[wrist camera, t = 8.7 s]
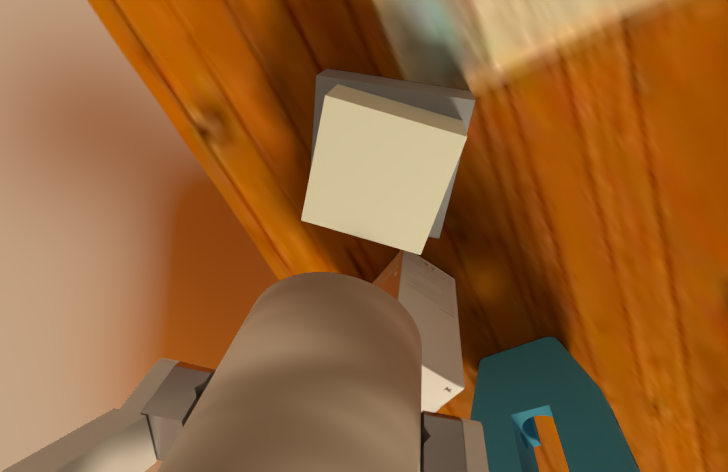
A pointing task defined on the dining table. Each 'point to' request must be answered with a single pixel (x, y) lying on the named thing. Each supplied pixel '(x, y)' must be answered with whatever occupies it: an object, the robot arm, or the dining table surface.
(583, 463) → the block
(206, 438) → the beige rounded cylinder
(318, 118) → the tower base
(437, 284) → the small box
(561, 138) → the dining table surface
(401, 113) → the tower top
